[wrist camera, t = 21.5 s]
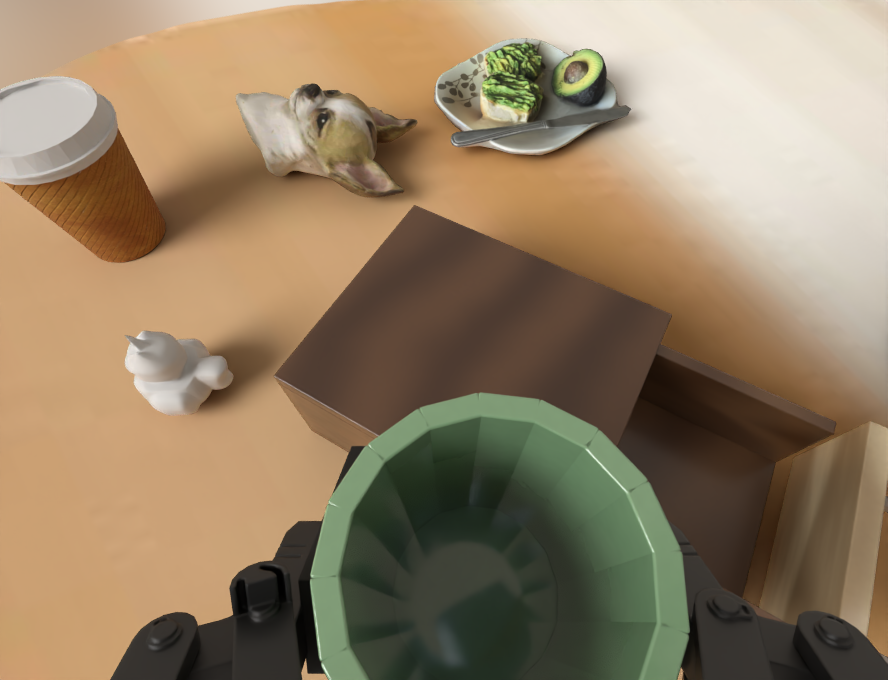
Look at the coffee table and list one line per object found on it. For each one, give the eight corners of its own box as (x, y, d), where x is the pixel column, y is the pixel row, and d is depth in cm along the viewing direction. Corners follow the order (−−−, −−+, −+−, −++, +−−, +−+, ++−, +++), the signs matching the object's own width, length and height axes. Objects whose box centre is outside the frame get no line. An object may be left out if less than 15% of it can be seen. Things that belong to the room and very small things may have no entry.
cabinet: (625, 378, 37) (672, 314, 29) (543, 568, 30) (575, 550, 23) (420, 282, 41) (414, 204, 33) (311, 430, 35) (272, 375, 27)
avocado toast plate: (509, 204, 45) (515, 163, 41) (392, 109, 52) (387, 67, 48) (644, 116, 51) (660, 73, 47) (523, 42, 58) (529, -1, 54)
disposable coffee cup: (197, 197, 46) (124, 72, 36) (165, 279, 41) (71, 164, 31) (96, 195, 46) (-6, 71, 36) (53, 277, 42) (-78, 161, 31)
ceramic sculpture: (248, 39, 43) (418, 59, 43) (272, 125, 51) (417, 141, 51) (207, 119, 38) (401, 141, 38) (241, 201, 46) (403, 219, 46)
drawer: (913, 514, 31) (1025, 487, 25) (888, 756, 25) (1027, 799, 19) (575, 355, 37) (600, 302, 31) (490, 522, 31) (501, 498, 25)
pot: (595, 555, 20) (732, 494, 10) (517, 755, 17) (606, 933, 7) (440, 466, 22) (432, 344, 12) (344, 632, 19) (231, 642, 9)
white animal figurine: (161, 359, 38) (97, 299, 31) (249, 354, 38) (204, 294, 31) (144, 426, 35) (69, 378, 28) (238, 421, 35) (187, 371, 28)
